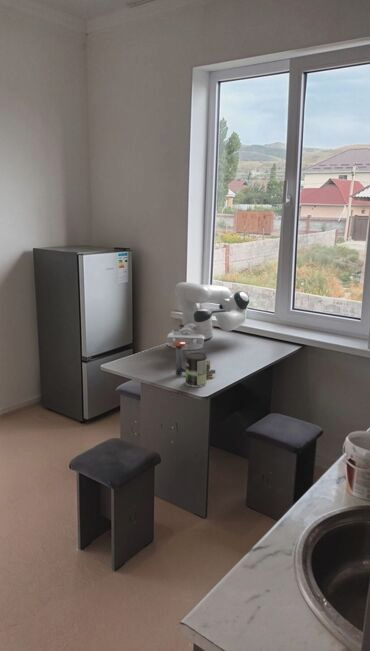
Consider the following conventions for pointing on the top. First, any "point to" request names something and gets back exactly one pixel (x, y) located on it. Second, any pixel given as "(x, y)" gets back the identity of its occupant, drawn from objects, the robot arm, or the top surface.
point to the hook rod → (179, 358)
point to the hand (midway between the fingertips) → (183, 342)
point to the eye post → (208, 375)
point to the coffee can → (196, 369)
